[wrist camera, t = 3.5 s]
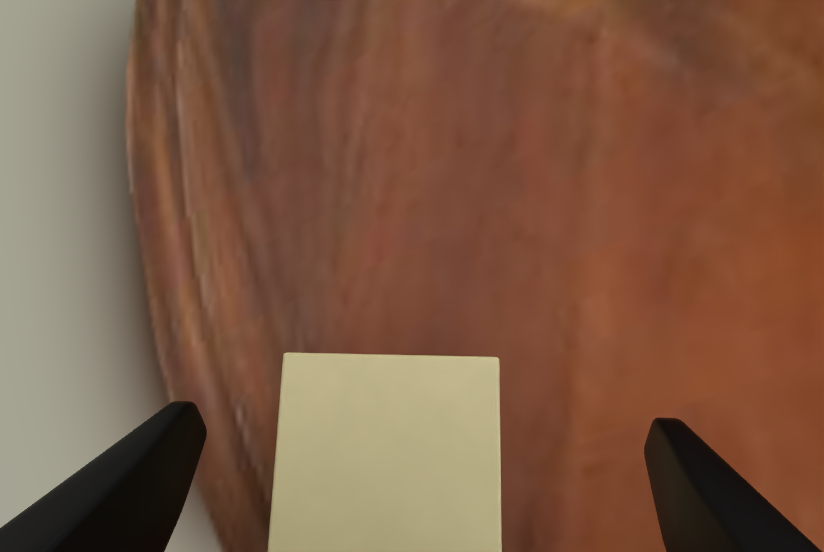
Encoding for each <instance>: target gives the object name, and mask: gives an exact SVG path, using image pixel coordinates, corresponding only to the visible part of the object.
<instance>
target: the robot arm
mask: <svg viewBox="0 0 824 552" xmlns="http://www.w3.org/2000/svg"><path fill="white" fill-rule="evenodd" d="M206 435H207V430H206V426H205V424H204V421H203V419H202V417H201V415H200V413H199V410H198V408H197V406H196V404H194V403H193V402H188V401H175V402H172V403H170V404H169V405H167V406H166V407H164V408H163V409H162V410H160V411H159V412H158V413H156V414H155V415H154V416H152V417H151V418H150V419H148V420H147V421H145V422H144V423H143V424H142V425H140V426H139V427H137V428H136V429H134V430H133V431H132V432H131V433H129V434H128V435H126V436H125V437H124V438H122V439H121V440H120V441H118V442H117V443H115V444H114V445H113V446H111V447H110V448H109V449H107V450H106V451H105V452H103V453H102V454H100V455H99V456H98V457H96V458H95V459H94V460H92V461H91V462H90V463H88V464H87V465H86V466H84V467H83V468H81V469H80V470H79V471H77V472H76V473H75V474H73V475H72V476H71V477H69V478H68V479H67V480H65V481H64V482H63V483H61V484H60V485H58V486H57V487H56V488H54V489H53V490H51V491H50V492H49V493H48V494H46V495H45V496H43V497H42V498H41V499H39V500H38V501H37V502H35V503H34V504H32V505H31V506H30V507H28V508H27V509H26V510H24V511H23V512H22V513H20V514H19V515H18V516H16V517H15V518H13V519H12V520H11V521H9V522H8V523H7V524H5V525H4V526H3V527H1V528H0V552H164V551H165V549H166V546H167V544H168V542H169V539H170V537H171V535H172V533H173V530H174V528H175V526H176V524H177V521H178V519H179V516H180V514H181V512H182V509H183V506H184V503H185V501H186V497H187V495H188V492H189V489H190V486H191V483H192V480H193V476H194V473H195V470H196V467H197V464H198V461H199V458H200V455H201V452H202V449H203V446H204V443H205V440H206ZM644 455H645V461H646V466H647V470H648V475H649V479H650V484H651V488H652V493H653V497H654V502H655V507H656V511H657V516H658V520H659V525H660V529H661V533H662V537H663V542H664V545H665V548H666V551H667V552H822V551H821V550H820V549H818V548H817V547H816V546H815V545H814V544H813V543H812V542H811V541H810V540H809V539H808V538H807V537H806V536H805V535H803V534H802V533H801V532H800V531H799V530H798V529H797V528H796V527H795V526H794V525H793V524H792V523H791V522H790V521H788V520H787V519H786V518H785V517H784V516H783V515H782V514H781V513H780V512H779V511H778V510H777V509H776V508H775V507H773V506H772V505H771V504H770V503H769V502H768V501H767V500H766V499H765V498H764V497H763V496H762V495H761V494H760V493H758V492H757V491H756V490H755V489H754V488H753V487H752V486H751V485H750V484H749V483H748V482H747V481H746V480H745V479H743V478H742V477H741V476H740V475H739V474H738V473H737V472H736V471H735V470H734V469H733V468H732V467H731V466H730V465H729V464H727V463H726V462H725V461H724V460H723V459H722V458H721V457H720V456H719V455H718V454H717V453H716V452H715V451H714V450H712V449H711V448H710V447H709V446H708V445H707V444H706V443H705V442H704V441H703V440H702V439H701V438H700V437H699V436H697V435H696V434H695V433H694V432H693V431H692V430H691V429H690V428H689V427H688V426H687V425H686V424H685V423H683V422H682V421H681V420H679V419H676V418H656V419H654V420H653V422H652V424H651V428H650V431H649V434H648V437H647V440H646V443H645V447H644Z"/></svg>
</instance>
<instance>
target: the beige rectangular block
mask: <svg viewBox="0 0 824 552" xmlns="http://www.w3.org/2000/svg"><path fill="white" fill-rule="evenodd" d="M268 552H502V533H501V458H500V384H499V359H498V358H497V357H478V356H429V355H380V354H330V353H285V354H284V356H283V366H282V378H281V391H280V403H279V416H278V428H277V441H276V453H275V466H274V478H273V491H272V503H271V516H270V528H269V541H268Z"/></svg>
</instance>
